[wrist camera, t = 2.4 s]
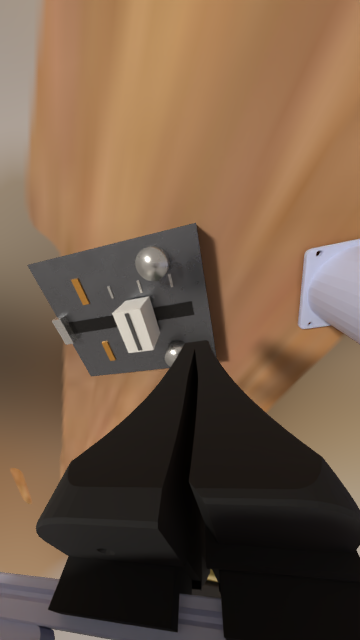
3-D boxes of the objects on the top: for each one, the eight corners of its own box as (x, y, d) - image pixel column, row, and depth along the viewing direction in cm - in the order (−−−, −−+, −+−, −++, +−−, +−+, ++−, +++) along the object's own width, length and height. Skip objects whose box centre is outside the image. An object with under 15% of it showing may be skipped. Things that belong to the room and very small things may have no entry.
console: (196, 224, 15) (195, 221, 12) (215, 351, 21) (218, 371, 18) (44, 262, 18) (13, 267, 15) (99, 365, 24) (84, 384, 21)
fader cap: (149, 296, 16) (139, 309, 13) (160, 332, 18) (153, 350, 15) (125, 300, 16) (111, 313, 14) (138, 335, 18) (128, 354, 15)
